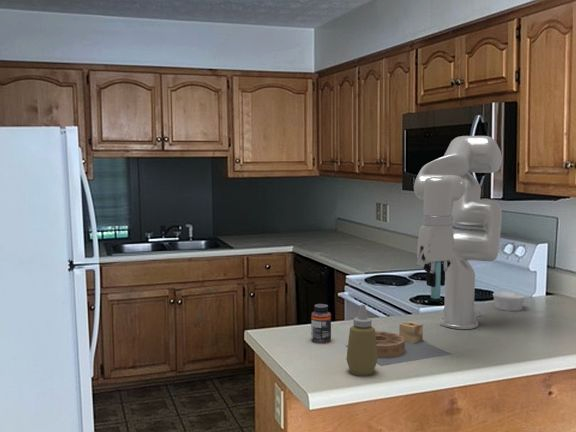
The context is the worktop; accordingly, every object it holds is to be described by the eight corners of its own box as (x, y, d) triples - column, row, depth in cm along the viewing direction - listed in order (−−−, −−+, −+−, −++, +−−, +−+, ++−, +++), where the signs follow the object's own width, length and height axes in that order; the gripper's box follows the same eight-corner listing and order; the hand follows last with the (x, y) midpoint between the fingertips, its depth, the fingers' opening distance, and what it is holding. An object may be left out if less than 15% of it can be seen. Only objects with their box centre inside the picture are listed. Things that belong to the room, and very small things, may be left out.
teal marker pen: (436, 295, 178) (437, 247, 176) (442, 297, 176) (443, 249, 174) (428, 296, 177) (429, 248, 175) (434, 299, 175) (435, 250, 173)
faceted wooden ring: (385, 340, 188) (386, 329, 188) (413, 353, 176) (414, 341, 175) (345, 346, 182) (346, 334, 182) (371, 360, 170) (372, 348, 169)
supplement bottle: (320, 337, 192) (320, 301, 191) (335, 341, 188) (335, 305, 187) (307, 341, 188) (307, 305, 187) (321, 346, 184) (322, 308, 183)
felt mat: (411, 337, 193) (411, 336, 193) (452, 355, 176) (452, 353, 176) (345, 347, 183) (345, 345, 183) (381, 367, 166) (381, 365, 166)
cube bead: (408, 336, 192) (408, 320, 192) (422, 340, 189) (422, 324, 188) (399, 340, 189) (399, 323, 188) (413, 343, 185) (413, 327, 185)
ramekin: (531, 311, 226) (531, 297, 226) (503, 313, 223) (504, 298, 223) (513, 304, 237) (513, 290, 236) (486, 305, 234) (487, 291, 234)
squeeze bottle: (355, 380, 156) (356, 310, 154) (340, 370, 164) (341, 303, 162) (383, 375, 159) (384, 307, 158) (367, 365, 167) (368, 300, 165)
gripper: (451, 217, 180) (449, 279, 183) (405, 221, 174) (404, 285, 176) (468, 220, 174) (467, 285, 176) (421, 224, 167) (420, 291, 169)
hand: (435, 284), depth 176 cm, fingers closed on teal marker pen, 2 cm apart
